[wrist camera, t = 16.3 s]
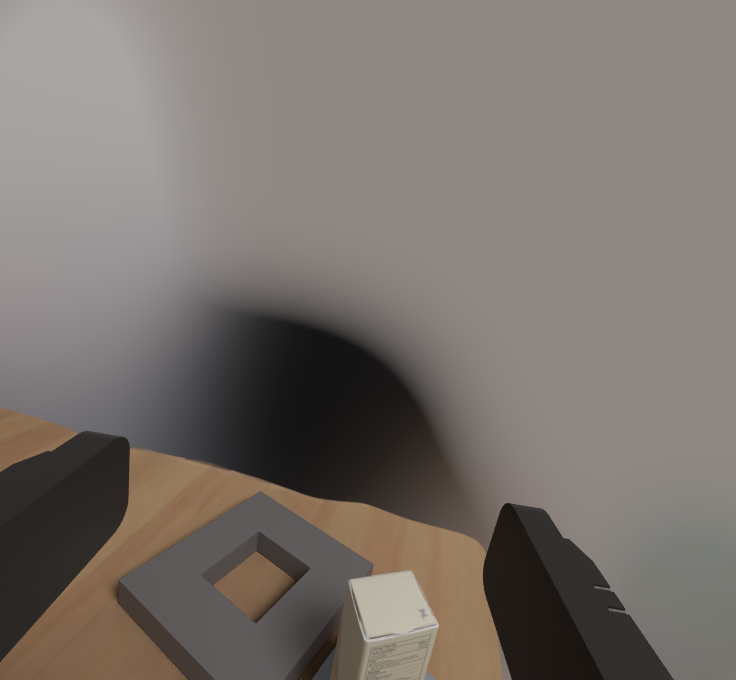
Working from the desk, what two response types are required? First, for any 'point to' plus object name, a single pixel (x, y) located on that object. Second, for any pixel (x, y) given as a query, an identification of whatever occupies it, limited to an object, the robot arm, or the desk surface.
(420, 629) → the box
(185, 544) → the socket block
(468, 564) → the desk surface
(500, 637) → the robot arm
